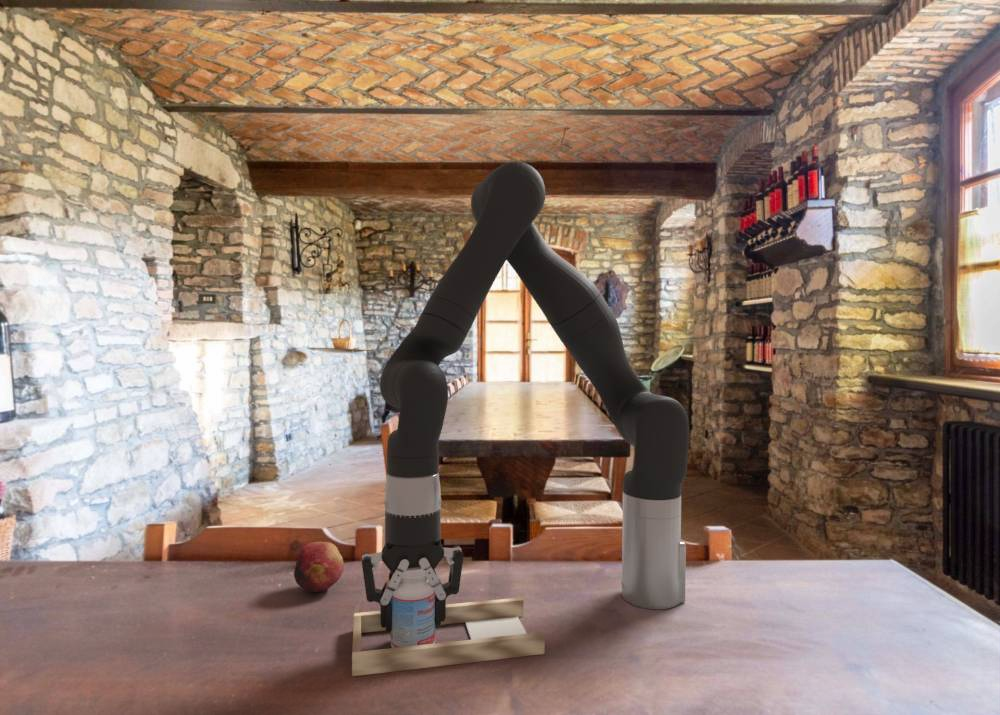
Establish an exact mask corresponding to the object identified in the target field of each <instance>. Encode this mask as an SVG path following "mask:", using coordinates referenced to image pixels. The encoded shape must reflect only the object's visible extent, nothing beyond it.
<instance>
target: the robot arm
mask: <svg viewBox="0 0 1000 715" xmlns="http://www.w3.org/2000/svg"><path fill="white" fill-rule="evenodd" d="M546 194H547V193H546V187H545V183H544V179H543V177H542V176H541V174H540V173H539V172H538V170H537V169H535V168H534V167H533V166H532V165H530V164H528V163H526V162H523V161H516V160H515V161H509V162H505V163H503V164H501V165H499V166H498V167H496V168H495V169H494V170H493V171H491V172H490V173H489V174H488V175H487V176H486V177H485V178H484V179H483V180H482V181H481V182H480V183H478V184H477V185H476V187H475V188H474V190H473V192H472V194H471V199H470V208H471V213H472V216H473V218H474V219H475V223H476V225H475V226H474V227H473V228H474V229H473V230H472V232H471V234H470V235H469V238H468V239H467V240H466V242H465V243H464V245H463V247H462V248H461V250H460V251H459V252H458V254H457V256H455V258H454V260H453V261H452V263H451V264H450V265H449V267H448V268H447V269H446V271H445V272H444V274H443V276H442V277H441V278H440V280H439V281H438V283H437V284H436V285H435V287H434V289H433V291H432V293H431V295H430V297H429V299H428V300H427V302H426V304H425V306H424V308H423V310H422V312H421V313H420V316H419V318H418V319H417V320H418V321H417V322H416V324H415V326H414V327H413V328H412V330H410V332H409V333H408V334H407V335H406V336H405V337H404V339H403V340H402V342H401V343H400V344H399V345H398V347H397V348H396V349H395V351H394V352H393V353H392V354H391V356H390V357H389V359H388V361H387V362H386V364H385V366H384V368H383V369H382V372H381V375H380V380H379V390H380V394H381V397H382V399H383V400H384V401H385V402H386V403H387V404H388V405H389V406H391V407H393V408H396V409H399V415H398V421H397V429H395V430H393V431H391V433H390V434H389V436H388V438H387V443H386V444H387V445H386V482H385V488H384V546H383V548H382V550H381V551H379V552H375V553H370V552H368V551H366V552H363V553H362V555H361V568H362V575H363V581H364V589H365V595H366V596H365V597H366V601H367V602H369V603H374V602H375V603H377V604H379V606H380V609H379V611H380V621H381V626H382V628H384V627H386V630H385V632H386V633H388V632H391V597H392V595H393V592H394V591H396V589H397V587H398V585H399V583H400V581H401V579H402V573H403V572H405V571H406V570H407V568H414V567H421V568H422V569H423V570H425V575H426V577H427V579H428V581H429V583H430V585H431V587H432V588H434V592H435V627H441V626H442V625H441V622H443V621H444V620H445V618H446V601H447V598H448V597H449V596H451V595H457V594H458V593H459V591H460V586H461V578H462V570H463V562H464V556H465V555H464V553H463V551H462V548H461V547H460V545H454V546H453V547H444V546H443V545H442V544H443V543H441V542H442V541H441V540H442V539H441V521H442V520H441V519H442V518H441V508H442V507H441V505H442V497H441V495H442V494H441V490H442V489H441V482H440V481H441V480H440V473H439V472H440V464H439V463H440V462H439V461H440V454H439V452H440V449H439V440H440V437H441V433H442V430H443V426H444V421H445V417H446V412H447V408H448V401H449V387H448V381H447V378H446V375H445V373H444V371H443V369H442V368H441V367H440V365H441V363H442V362H443V360H444V359H445V358H448V357H449V356H451V355H453V354H455V353H457V352H458V351H459V350H460V348H461V347H462V346H463V343H464V342H465V340H466V338H467V336H468V334H469V332H470V330H471V328H472V326H473V324H474V322H475V320H476V318H477V315H478V314H479V312H480V310H481V307H482V306H483V303H484V302H485V299H486V298H487V296H488V294H489V291H490V290H491V288H492V286H493V284H494V283H495V280H496V279H497V277H498V274H499V273H500V271H501V270H502V268H503V266H504V264H505V262H506V261H507V263H508V264H509V265H510V267H512V269H513V270H514V272H515V273H516V275H518V278H519V279H520V280H521V282H522V284H523V285H524V287H525V288H526V290H527V291H528V292H529V294H530V296H531V297H532V298H533V300H534V302H535V303H536V304H537V306H538V307H539V308H540V310H541V311H542V313H543V315H544V317H545V319H546V320H547V321H548V323H549V325H550V326H551V328H552V329H553V331H554V333H555V334H556V336H557V337H558V338H559V340H560V342H561V343H562V344H563V346H564V347H565V348H566V349H567V351H568V352H569V354H570V356H571V357H572V359H573V360H574V361H575V363H576V364H577V365H578V367H579V368H580V370H581V371H582V373H583V374H584V375H585V376H586V378H587V379H588V381H589V382H590V383H591V385H592V386H593V388H594V389H595V391H596V392H597V394H598V396H599V398H600V400H601V401H602V404H603V405H604V407H605V409H606V411H607V412H608V415H609V417H610V419H611V421H612V423H613V425H614V427H615V429H616V430H617V432H618V434H619V435H620V436H621V438H622V439H623V440H624V441H625V442H627V443H628V444H629V445H631V446H633V447H634V459H633V460H634V461H633V467H632V468H631V470H630V471H627V472H625V474H624V475H623V478H622V529H621V530H622V534H621V535H622V536H621V537H622V539H621V541H622V542H621V543H622V544H621V551H622V552H621V595H622V598H623V599H624V600H625V601H626V602H628V603H629V604H631V605H634V606H637V607H638V608H639V607H641V608H644V609H651V610H666V609H670V608H673V607H676V606H677V605H679V604H680V603H686V577H687V576H686V573H687V572H686V571H687V570H686V569H687V566H686V565H687V563H686V562H687V559H686V558H687V545H686V542H684V541H682V536H681V535H682V534H681V533H682V527H681V526H682V486H683V484H684V482H685V479H686V477H687V471H688V462H689V461H688V459H689V443H690V442H689V441H690V425H689V424H690V422H689V418H688V414H687V412H686V411H687V410H685V408H684V406H683V405H682V404H681V403H680V402H679V401H678V400H676V399H675V398H672V397H670V396H665V395H660V394H654V393H652V392H651V391H650V389H648V387H646V385H645V384H644V382H642V380H641V378H640V377H639V376H638V375H637V373H636V371H635V370H634V368H633V367H632V366H631V363H630V361H629V359H628V357H627V354H626V351H625V350H626V349H625V348H624V343H623V342H624V341H623V338H622V333H621V329H620V326H619V322H618V321H617V318H616V316H615V314H614V312H613V310H612V309H611V307H610V306H609V304H608V302H607V301H606V299H605V298H604V296H603V295H602V293H601V292H600V290H599V288H597V286H596V285H595V284H594V282H593V281H592V280H591V279H590V278H589V277H587V276H586V275H585V274H584V273H583V272H581V270H579V269H578V268H577V267H575V265H573V264H571V263H570V262H569V261H567V260H565V259H564V258H563V257H562V256H560V255H559V254H558V253H557V252H556V251H555V250H554V249H552V247H551V246H550V244H548V243H547V242H546V240H545V238H544V237H543V236H542V234H541V232H540V231H539V229H538V228H537V226H536V224H535V223H534V220H535V219H536V218H537V217H538V215H539V214H540V213H541V212H542V210H543V208H544V206H545V200H546ZM444 557H445V558H446V561H447V564H448V565H449V574H448V581H447V582H445V583H442V581H441V579H440V577H439V575H438V573H437V570H436V568H437V566H438V565H439V563H440V562H441V561H442V559H443V558H444ZM381 562H383V564H384V565H385V566H386V567H387V568H388V570H389V572H388V574H387V575H386V579H385V582H384V584H383V586H382V588H381V589H380V588H377V587H376V582H375V575H374V572H375V571H377V570H378V568H379V564H380V563H381Z"/></svg>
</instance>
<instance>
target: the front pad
mask: <svg viewBox="0 0 1000 715" xmlns="http://www.w3.org/2000/svg"><path fill="white" fill-rule="evenodd" d="M464 624H465V627H466V630H467V633H468V636H469V638H470V639H469V640H472V639H481V638H490V637H500V636H509V635H518V634H527V631H526V628H525V627H524V625H523V623H522V621H521V620H520V617H509V618H499V619H489V620H479V621H469V622H464Z"/></svg>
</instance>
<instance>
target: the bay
mask: <svg viewBox="0 0 1000 715" xmlns="http://www.w3.org/2000/svg"><path fill="white" fill-rule="evenodd" d="M509 617H518V618H521V617H524V599H523V597H522V596H521V597H512V598H501V599H491V600H489V599H488V600H481V601H479V600H478V601H471V602H469V601H467V602H460V603H447V604H446V618H445V620H444V621H443V622H441V626H443V625H451V624H461V623H465V622H469V621H479V620H489V619H499V618H509ZM352 629H353V632H352V650H351V652H352V653H351V663H352V664H351V676H352V677H356V676H367V675H374V674H375V675H376V674H384V673H391V672H400V671H409V670H420V669H427V668H436V667H444V666H450V665H451V666H452V665H461V664H469V663H477V662H487V661H495V660H503V659H511V658H520V657H527V656H528V657H529V656H536V655H537V656H538V655H544V654H545V644H546V643H545V636H546V635H545V634H544V632H543V631H539V632H529V633H527V632H526V633H527V634H518V635H509V636H500V637H490V638H481V639H472V640H471V639H464V640H454V641H447V642H446V641H444V642H437V643H436V642H435V644H426V645H416V646H407V647H398V648H392V647H391V648H390V647H389V648H382V649H381V648H380V649H379V648H378V649H372V650H371V649H370V650H364V651H362V633H364V634H365V633H373V632H375V633H376V632H382V631H383V632H384V631H386V627H384V628H382V626H381V621H380V610H372V611H363V612H354V613H353V627H352Z"/></svg>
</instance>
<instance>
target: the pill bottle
mask: <svg viewBox="0 0 1000 715" xmlns="http://www.w3.org/2000/svg"><path fill="white" fill-rule="evenodd" d="M435 643H436V626H435V592H434V588H432V587H431V585H430V583H429V581H428V579H427V577H426V575H425V570H423V569H422V568H421V567H414V568H407V570H406V571H405V572H403V573H402V579H401V581H400V583H399V585H398V587H397V589H396V591H394V592H393V595H392V597H391V631H390V646H391V648H398V647H407V646H416V645H426V644H435Z"/></svg>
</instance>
